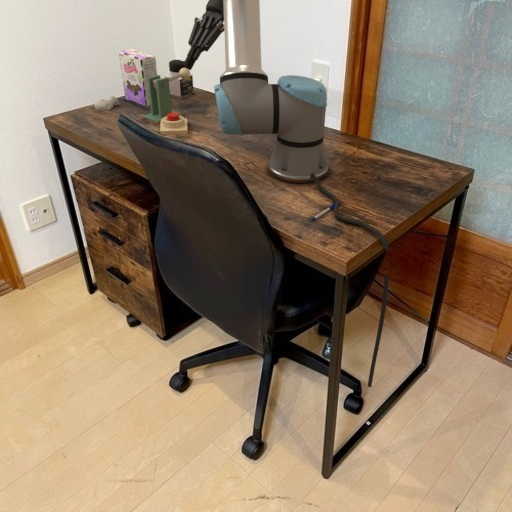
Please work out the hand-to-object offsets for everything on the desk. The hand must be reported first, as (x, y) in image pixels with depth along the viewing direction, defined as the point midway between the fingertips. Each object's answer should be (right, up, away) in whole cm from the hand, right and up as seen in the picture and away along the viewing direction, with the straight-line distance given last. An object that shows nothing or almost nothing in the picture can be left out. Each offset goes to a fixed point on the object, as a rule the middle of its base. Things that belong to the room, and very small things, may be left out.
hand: (186, 67), depth 170 cm
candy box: (-17, -8, +13) cm, 23 cm away
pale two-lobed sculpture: (-27, -12, +6) cm, 30 cm away
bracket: (-8, -16, 0) cm, 18 cm away
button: (-2, -20, -12) cm, 23 cm away
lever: (-4, -6, -2) cm, 7 cm away
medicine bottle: (-5, -3, +20) cm, 21 cm away
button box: (-2, -23, -10) cm, 25 cm away
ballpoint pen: (+38, -51, -50) cm, 81 cm away
